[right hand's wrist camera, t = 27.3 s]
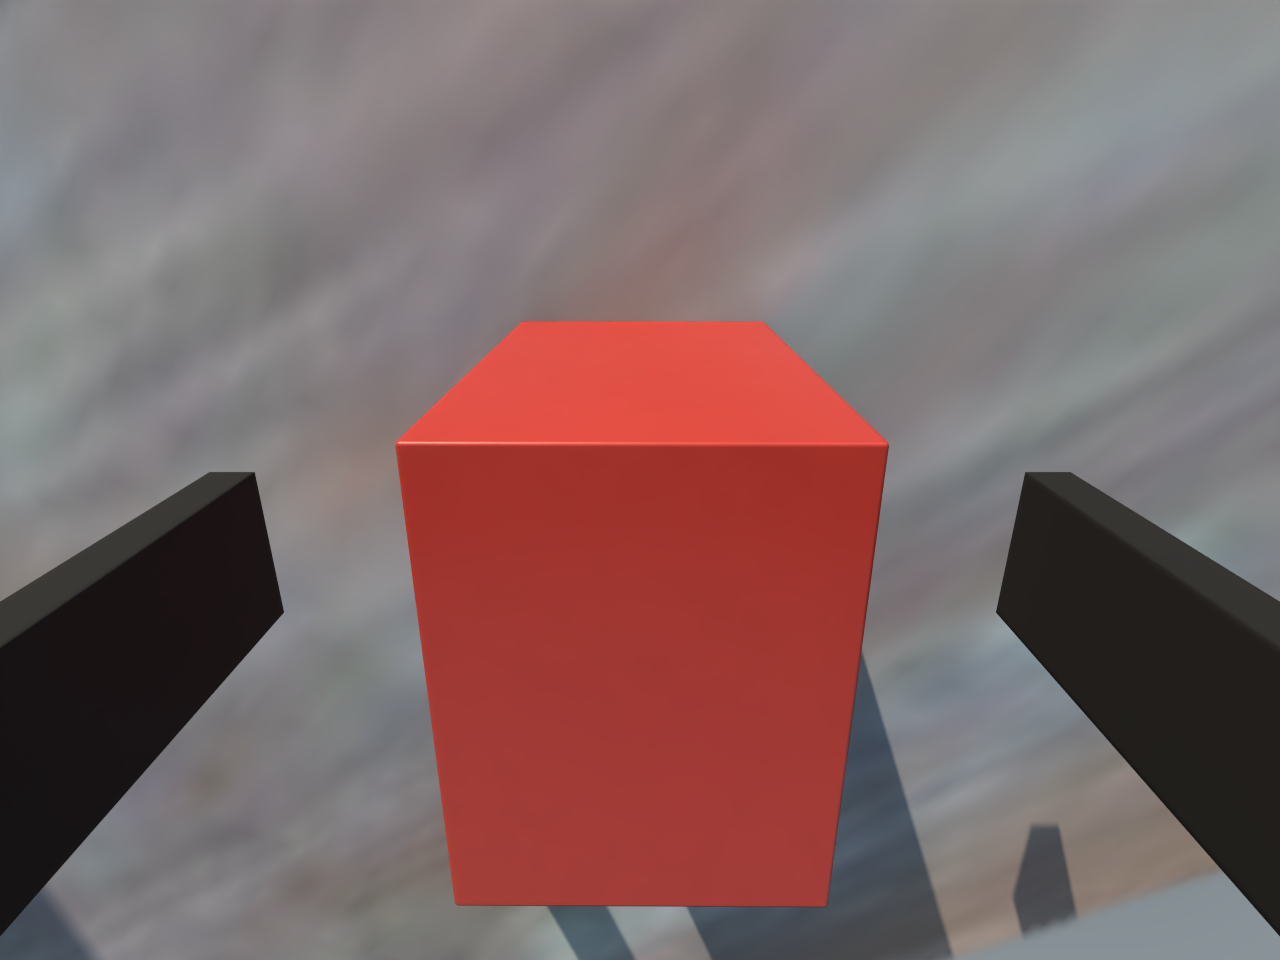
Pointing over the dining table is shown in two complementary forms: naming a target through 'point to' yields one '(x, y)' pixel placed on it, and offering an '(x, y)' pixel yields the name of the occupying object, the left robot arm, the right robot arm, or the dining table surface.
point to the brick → (641, 613)
